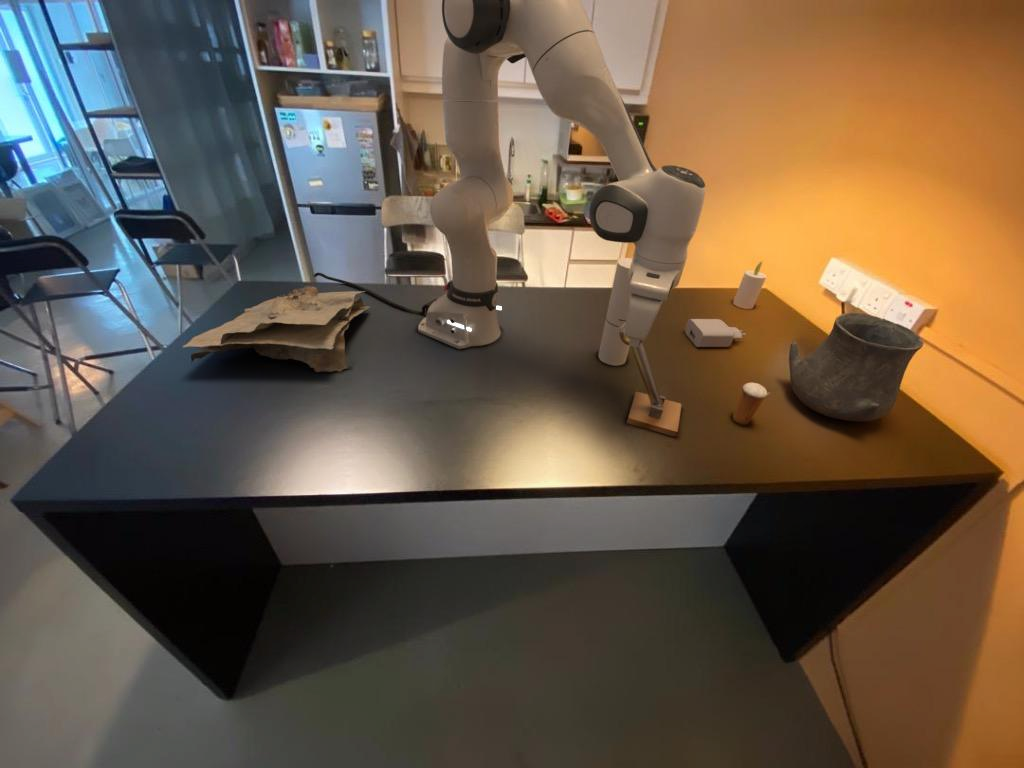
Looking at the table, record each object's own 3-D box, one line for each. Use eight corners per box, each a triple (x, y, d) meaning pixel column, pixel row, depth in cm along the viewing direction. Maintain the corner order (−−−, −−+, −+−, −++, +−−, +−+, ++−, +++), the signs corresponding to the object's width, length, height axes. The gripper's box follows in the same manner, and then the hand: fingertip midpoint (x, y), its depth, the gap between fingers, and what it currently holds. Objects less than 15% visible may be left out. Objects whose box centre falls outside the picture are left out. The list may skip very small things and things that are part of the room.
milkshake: (754, 431, 89) (774, 393, 83) (727, 421, 91) (745, 384, 85) (757, 419, 92) (776, 382, 86) (731, 410, 94) (748, 373, 88)
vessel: (915, 433, 91) (981, 355, 80) (825, 440, 88) (880, 360, 76) (838, 374, 109) (883, 303, 97) (761, 378, 105) (798, 305, 93)
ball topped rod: (613, 330, 82) (639, 324, 79) (618, 319, 85) (643, 313, 83) (645, 417, 90) (669, 414, 87) (648, 404, 93) (671, 400, 91)
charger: (749, 348, 117) (697, 348, 115) (732, 332, 124) (683, 331, 123) (756, 333, 114) (703, 333, 113) (738, 317, 121) (688, 317, 120)
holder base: (626, 423, 89) (630, 408, 87) (634, 396, 97) (638, 382, 94) (675, 437, 86) (681, 423, 84) (679, 408, 94) (684, 395, 92)
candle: (750, 301, 142) (769, 258, 133) (755, 310, 137) (774, 265, 128) (731, 298, 143) (748, 255, 134) (734, 307, 138) (752, 262, 129)
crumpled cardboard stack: (252, 282, 117) (367, 274, 117) (270, 337, 124) (378, 329, 124) (166, 322, 85) (323, 310, 86) (197, 393, 92) (342, 381, 93)
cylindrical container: (626, 367, 106) (651, 271, 91) (597, 362, 107) (617, 267, 92) (625, 352, 112) (649, 260, 97) (598, 348, 113) (617, 256, 98)
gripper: (646, 249, 83) (629, 311, 92) (627, 287, 68) (609, 358, 76) (679, 255, 82) (658, 319, 90) (667, 296, 66) (644, 368, 75)
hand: (636, 337), depth 83 cm, fingers closed on ball topped rod, 5 cm apart
